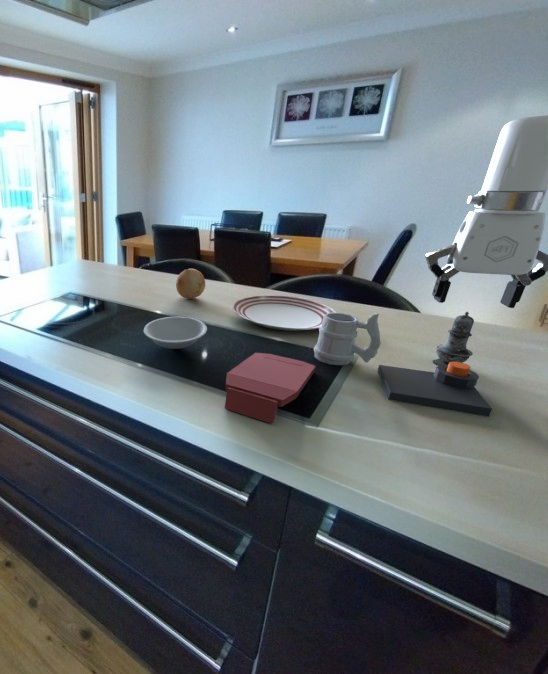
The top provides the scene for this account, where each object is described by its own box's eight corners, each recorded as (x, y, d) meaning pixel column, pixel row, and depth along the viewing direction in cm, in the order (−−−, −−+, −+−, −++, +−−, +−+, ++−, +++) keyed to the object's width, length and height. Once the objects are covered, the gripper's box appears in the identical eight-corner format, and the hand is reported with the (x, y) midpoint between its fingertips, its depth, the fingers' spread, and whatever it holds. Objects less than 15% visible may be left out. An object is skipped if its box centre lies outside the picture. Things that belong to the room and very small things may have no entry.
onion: (193, 304, 126) (195, 273, 122) (169, 298, 133) (170, 269, 129) (210, 298, 132) (212, 268, 128) (186, 292, 139) (188, 264, 135)
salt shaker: (434, 356, 86) (452, 305, 82) (469, 365, 82) (490, 311, 77) (427, 364, 83) (445, 311, 78) (463, 374, 79) (484, 318, 74)
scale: (465, 384, 75) (471, 367, 74) (492, 418, 65) (500, 399, 63) (376, 370, 81) (380, 355, 80) (388, 400, 71) (393, 383, 69)
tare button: (464, 371, 73) (467, 363, 73) (470, 378, 71) (473, 369, 70) (444, 368, 74) (446, 360, 74) (449, 375, 72) (452, 367, 71)
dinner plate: (350, 341, 95) (353, 329, 94) (233, 333, 102) (234, 321, 101) (322, 307, 119) (324, 296, 118) (229, 302, 126) (230, 292, 125)
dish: (189, 368, 85) (190, 347, 83) (131, 354, 92) (131, 334, 90) (214, 340, 98) (216, 322, 96) (162, 330, 106) (163, 313, 104)
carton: (253, 371, 90) (213, 404, 70) (257, 351, 88) (217, 379, 69) (311, 386, 83) (285, 427, 63) (316, 364, 82) (291, 400, 62)
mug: (318, 348, 92) (328, 300, 87) (377, 362, 84) (392, 310, 80) (307, 359, 87) (317, 308, 82) (370, 375, 79) (384, 320, 75)
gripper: (450, 204, 63) (419, 304, 70) (598, 204, 57) (548, 314, 64) (434, 201, 70) (407, 293, 76) (565, 201, 63) (523, 301, 70)
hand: (471, 303), depth 70 cm, fingers open, 9 cm apart
